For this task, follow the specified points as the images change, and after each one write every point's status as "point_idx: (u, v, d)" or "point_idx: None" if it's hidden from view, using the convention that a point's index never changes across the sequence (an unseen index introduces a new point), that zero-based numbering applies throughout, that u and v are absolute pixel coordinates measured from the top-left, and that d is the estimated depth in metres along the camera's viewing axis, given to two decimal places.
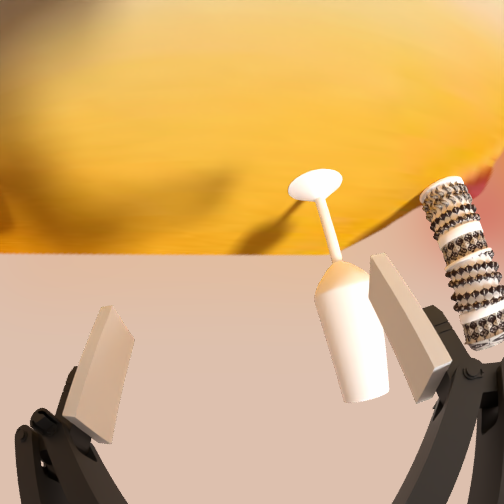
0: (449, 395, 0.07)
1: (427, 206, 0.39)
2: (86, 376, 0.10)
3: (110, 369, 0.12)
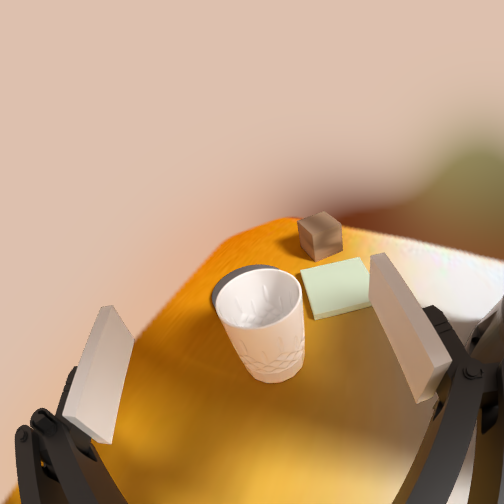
0: (449, 395, 0.07)
1: None
2: (86, 376, 0.10)
3: (110, 369, 0.12)
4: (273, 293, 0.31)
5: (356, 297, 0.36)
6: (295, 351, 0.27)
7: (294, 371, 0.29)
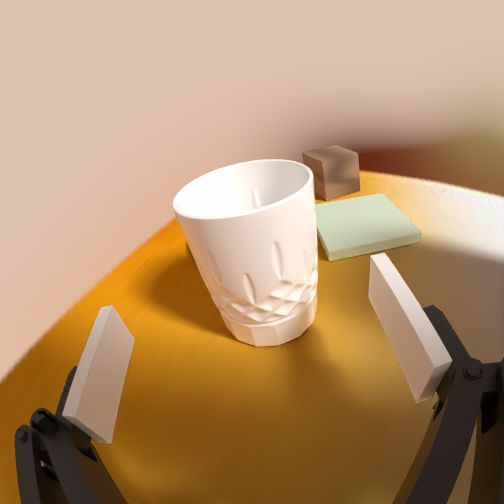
0: (449, 395, 0.07)
1: None
2: (86, 376, 0.10)
3: (110, 369, 0.12)
4: (268, 202, 0.20)
5: (385, 232, 0.25)
6: (303, 284, 0.17)
7: (302, 326, 0.19)
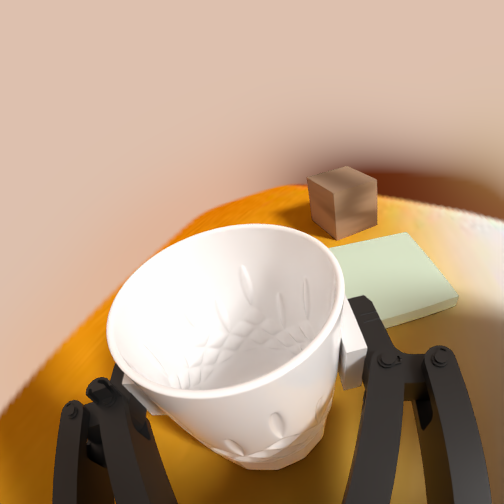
0: (367, 387, 0.08)
1: None
2: None
3: None
4: (264, 285, 0.14)
5: (416, 296, 0.18)
6: (315, 425, 0.10)
7: (308, 450, 0.12)
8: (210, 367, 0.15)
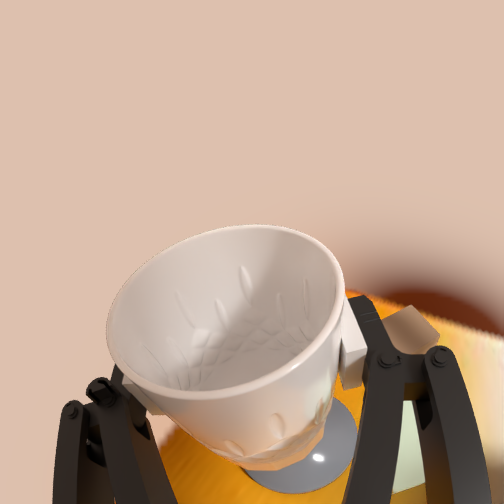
0: (367, 387, 0.08)
1: None
2: None
3: None
4: (264, 285, 0.14)
5: None
6: (314, 426, 0.10)
7: (308, 451, 0.12)
8: (210, 368, 0.15)
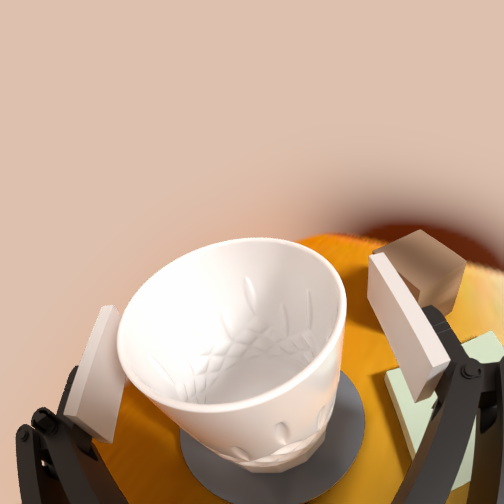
0: (447, 395, 0.07)
1: None
2: (87, 375, 0.10)
3: (111, 368, 0.12)
4: (268, 296, 0.14)
5: None
6: (317, 431, 0.10)
7: (310, 454, 0.12)
8: (215, 374, 0.15)
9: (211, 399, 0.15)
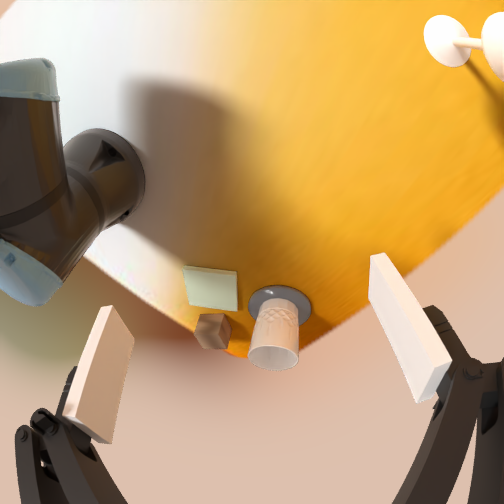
0: (449, 395, 0.07)
1: None
2: (86, 376, 0.10)
3: (110, 369, 0.12)
4: (265, 352, 0.49)
5: (201, 276, 0.49)
6: (263, 318, 0.47)
7: (268, 302, 0.50)
8: None
9: None
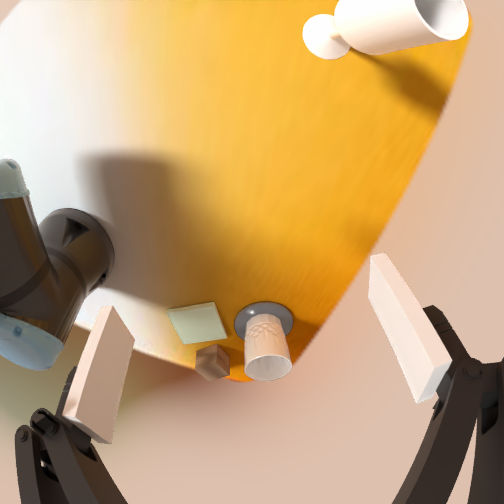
0: (449, 395, 0.07)
1: None
2: (86, 376, 0.10)
3: (110, 369, 0.12)
4: (262, 366, 0.51)
5: (184, 315, 0.52)
6: (249, 336, 0.50)
7: (250, 321, 0.53)
8: None
9: None
